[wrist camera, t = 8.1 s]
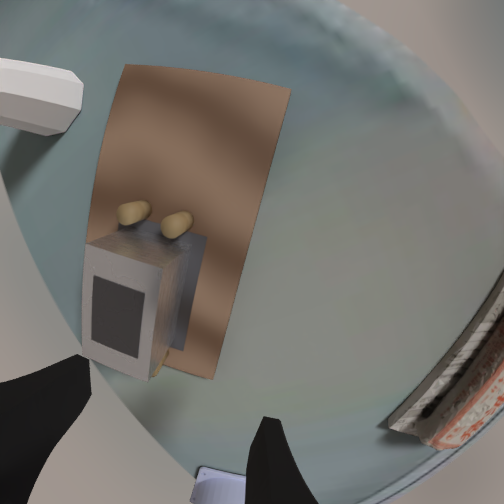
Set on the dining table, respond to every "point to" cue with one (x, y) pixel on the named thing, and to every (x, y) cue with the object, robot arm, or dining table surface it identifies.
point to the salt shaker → (38, 97)
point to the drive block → (131, 299)
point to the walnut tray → (190, 185)
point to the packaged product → (460, 383)
